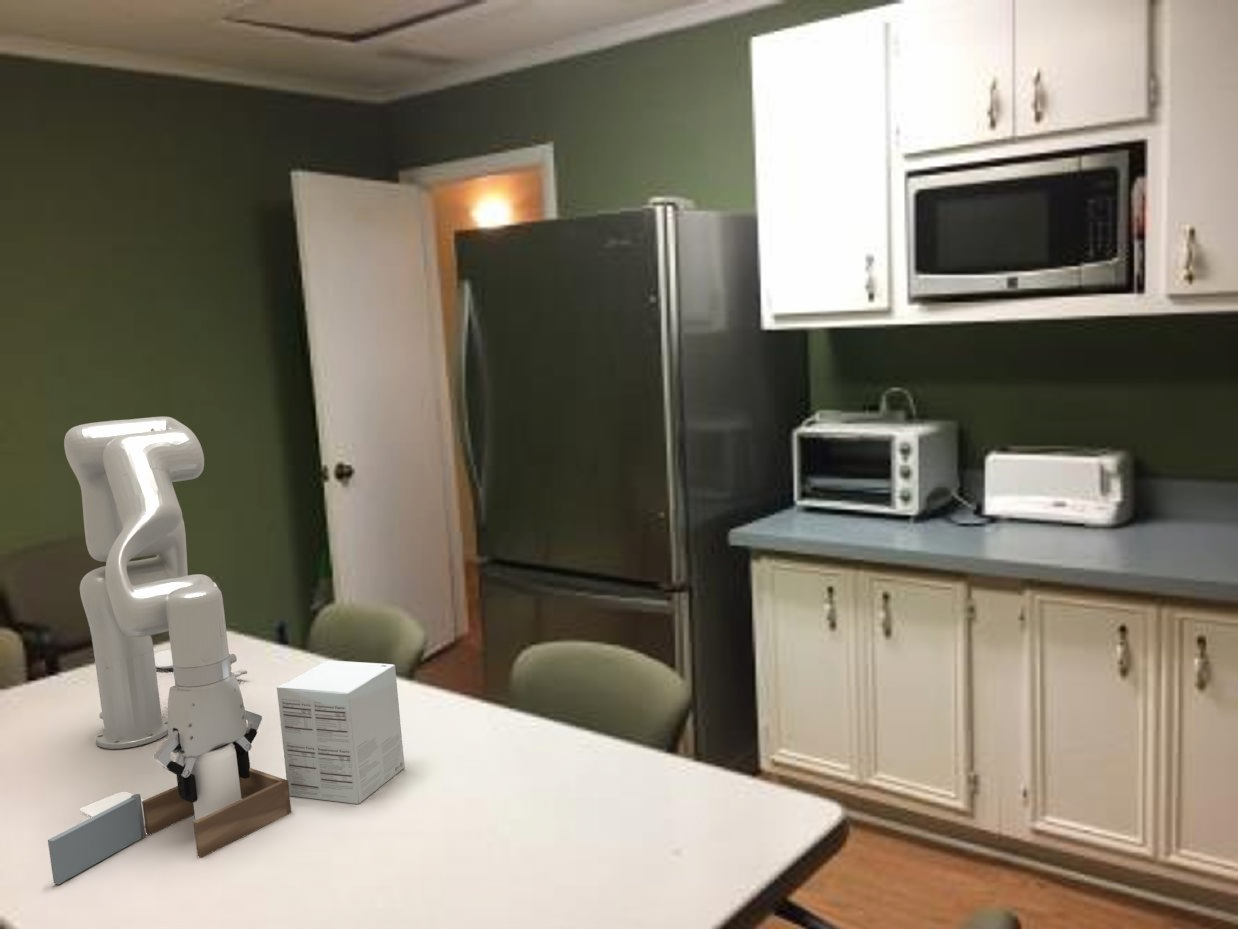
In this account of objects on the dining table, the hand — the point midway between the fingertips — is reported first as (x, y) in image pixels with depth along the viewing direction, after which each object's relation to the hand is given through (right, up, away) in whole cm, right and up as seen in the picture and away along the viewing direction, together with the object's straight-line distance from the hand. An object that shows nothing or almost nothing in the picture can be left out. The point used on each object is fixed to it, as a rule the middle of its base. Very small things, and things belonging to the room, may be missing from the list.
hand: (216, 787), depth 149 cm
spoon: (-32, +2, +70) cm, 77 cm away
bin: (0, -5, 0) cm, 5 cm away
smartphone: (-16, -6, +6) cm, 18 cm away
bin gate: (-13, -7, -8) cm, 17 cm away
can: (0, -6, +1) cm, 6 cm away
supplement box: (+16, -3, +12) cm, 20 cm away
